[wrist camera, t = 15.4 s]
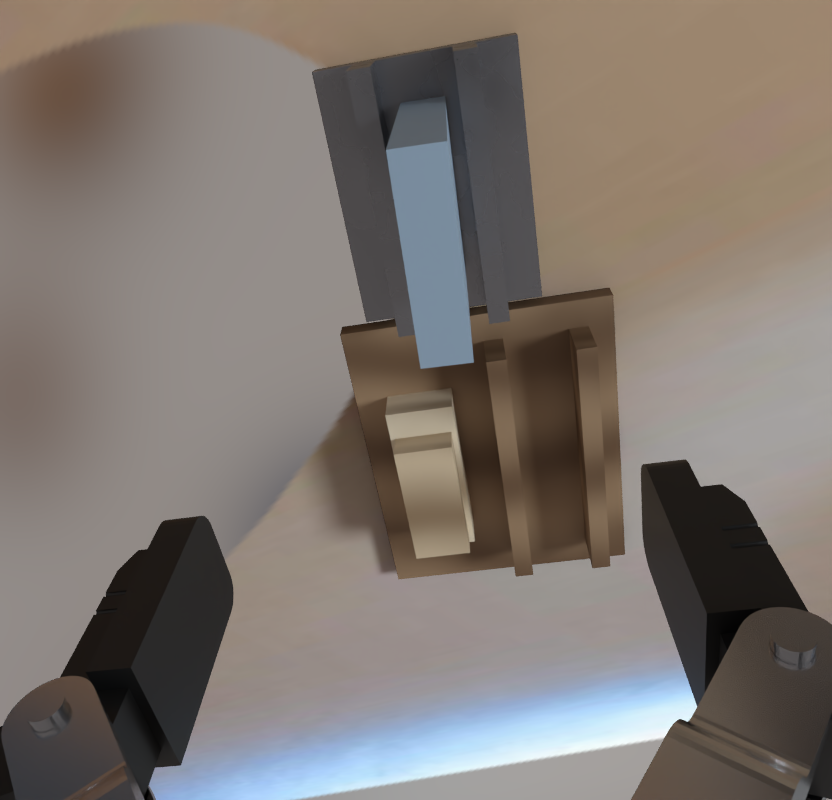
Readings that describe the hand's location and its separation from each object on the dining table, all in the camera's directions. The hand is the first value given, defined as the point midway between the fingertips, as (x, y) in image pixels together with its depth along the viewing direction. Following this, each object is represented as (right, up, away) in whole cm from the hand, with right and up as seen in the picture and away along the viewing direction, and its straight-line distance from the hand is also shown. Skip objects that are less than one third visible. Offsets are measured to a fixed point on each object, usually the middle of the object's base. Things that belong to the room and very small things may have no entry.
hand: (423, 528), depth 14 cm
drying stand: (+1, +13, +22) cm, 26 cm away
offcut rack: (+4, 0, +29) cm, 30 cm away
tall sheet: (+1, +12, +21) cm, 25 cm away
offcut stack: (+1, -1, +29) cm, 29 cm away
